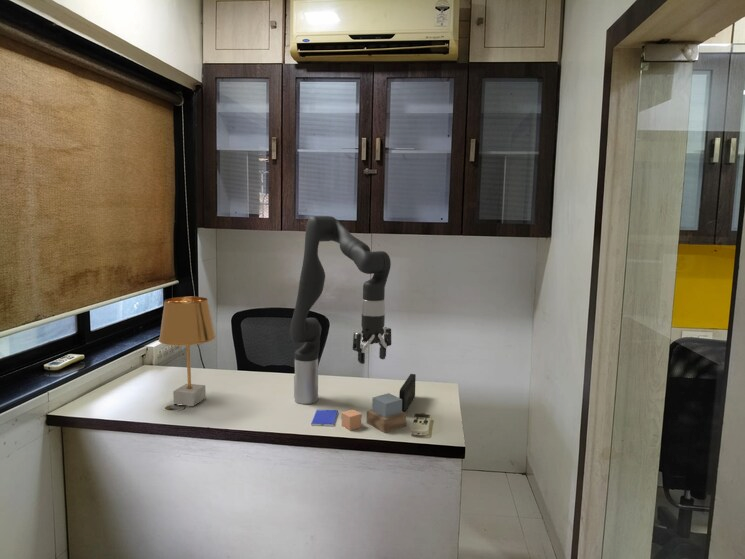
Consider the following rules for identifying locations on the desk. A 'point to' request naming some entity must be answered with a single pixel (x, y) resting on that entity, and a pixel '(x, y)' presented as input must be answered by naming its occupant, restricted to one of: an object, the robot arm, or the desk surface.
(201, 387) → the lamp
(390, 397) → the slate middle block
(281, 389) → the desk surface
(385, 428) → the walnut base block
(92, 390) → the desk surface
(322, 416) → the hard drive
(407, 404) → the nameplate
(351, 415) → the terracotta cube
